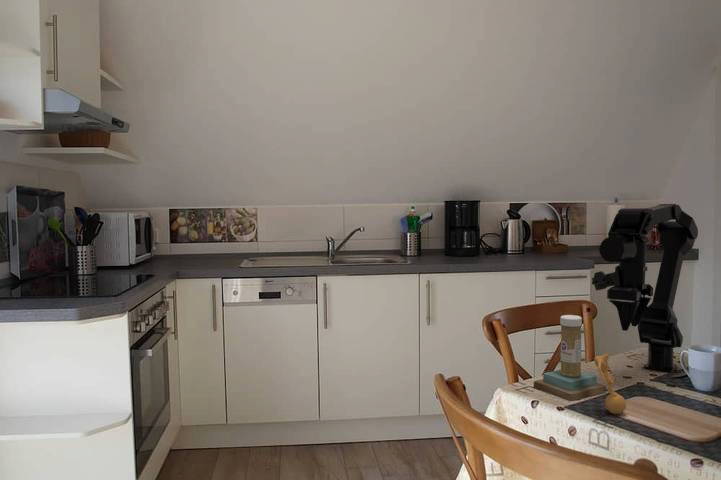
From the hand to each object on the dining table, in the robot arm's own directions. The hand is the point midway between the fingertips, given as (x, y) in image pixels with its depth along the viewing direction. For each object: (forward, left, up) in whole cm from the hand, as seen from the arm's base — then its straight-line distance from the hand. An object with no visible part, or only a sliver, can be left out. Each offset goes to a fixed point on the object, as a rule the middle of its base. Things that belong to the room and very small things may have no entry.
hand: (629, 328), depth 138 cm
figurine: (+23, +3, -13) cm, 27 cm away
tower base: (+14, -9, -13) cm, 21 cm away
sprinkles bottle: (+14, -8, -10) cm, 19 cm away
